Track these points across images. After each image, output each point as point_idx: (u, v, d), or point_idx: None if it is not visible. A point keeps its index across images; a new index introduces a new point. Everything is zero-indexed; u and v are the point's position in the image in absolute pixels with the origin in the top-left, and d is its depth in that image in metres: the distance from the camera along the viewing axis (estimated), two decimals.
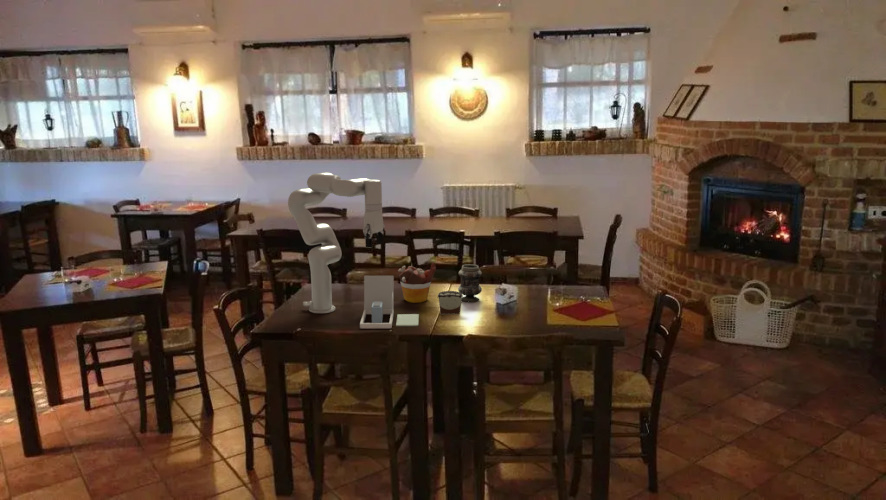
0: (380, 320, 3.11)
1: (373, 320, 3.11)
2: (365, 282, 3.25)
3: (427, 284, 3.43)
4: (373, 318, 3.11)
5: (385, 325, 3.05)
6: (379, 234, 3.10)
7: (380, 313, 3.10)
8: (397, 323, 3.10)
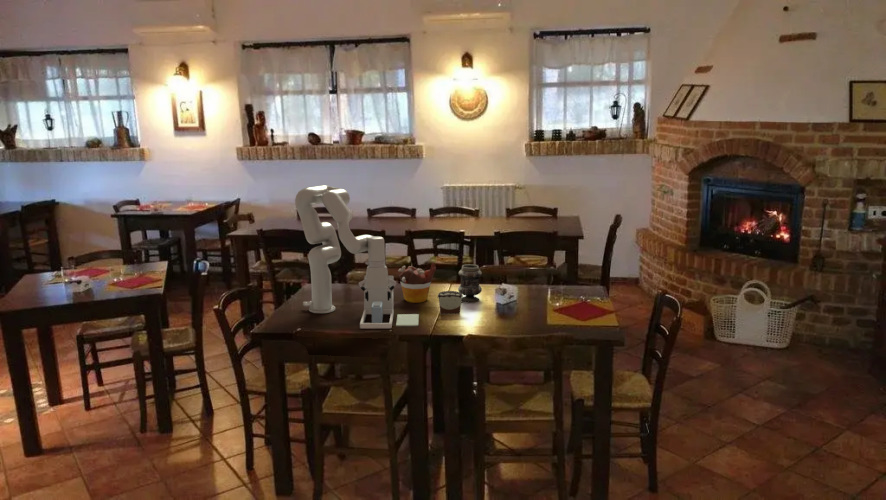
0: (380, 320, 3.11)
1: (373, 320, 3.11)
2: (365, 282, 3.25)
3: (427, 284, 3.43)
4: (373, 318, 3.11)
5: (385, 325, 3.05)
6: (367, 291, 3.12)
7: (380, 313, 3.10)
8: (397, 323, 3.10)
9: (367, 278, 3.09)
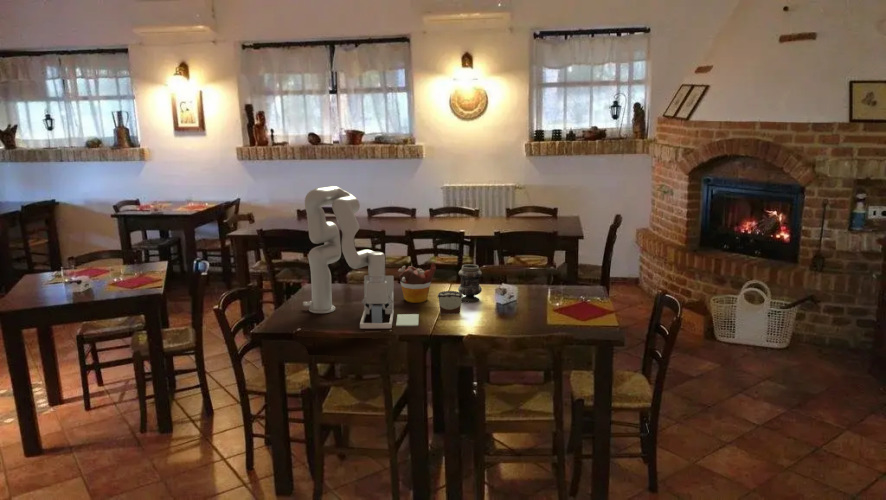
0: (380, 320, 3.11)
1: (373, 320, 3.11)
2: (365, 282, 3.25)
3: (427, 284, 3.43)
4: (373, 318, 3.11)
5: (385, 325, 3.05)
6: None
7: (380, 313, 3.10)
8: (397, 323, 3.10)
9: (367, 293, 3.10)
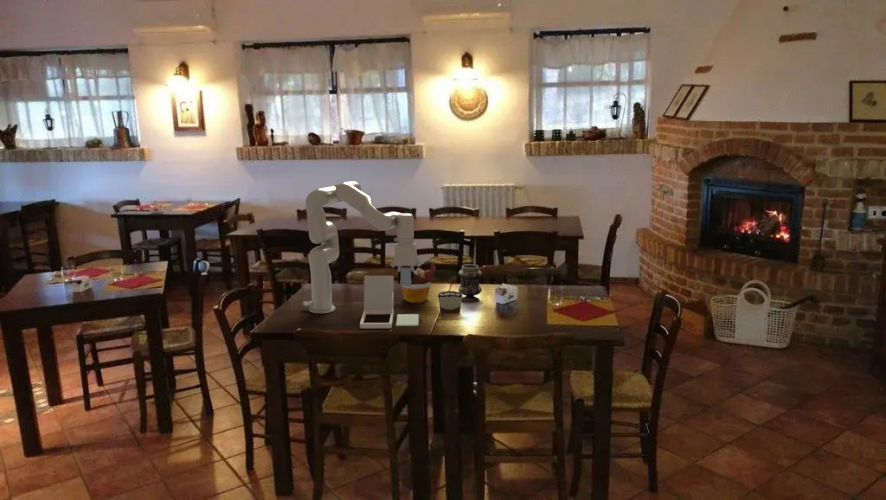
0: (409, 282, 3.07)
1: (402, 282, 3.07)
2: (365, 282, 3.25)
3: (427, 284, 3.43)
4: (402, 280, 3.07)
5: (385, 325, 3.05)
6: (400, 271, 3.11)
7: (409, 275, 3.07)
8: (397, 323, 3.10)
9: (396, 255, 3.07)
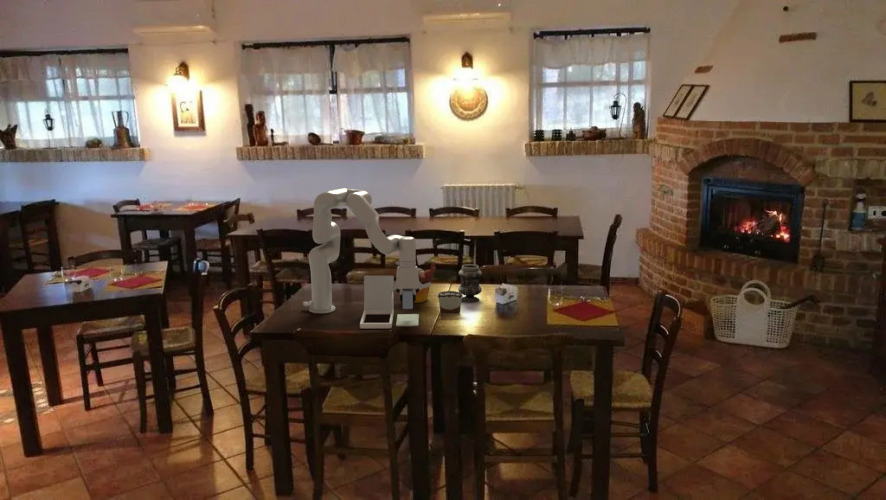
0: (411, 305, 3.10)
1: (404, 305, 3.10)
2: (365, 282, 3.25)
3: (427, 284, 3.43)
4: (404, 303, 3.09)
5: (385, 325, 3.05)
6: (402, 293, 3.13)
7: (411, 298, 3.09)
8: (397, 323, 3.10)
9: (398, 278, 3.09)
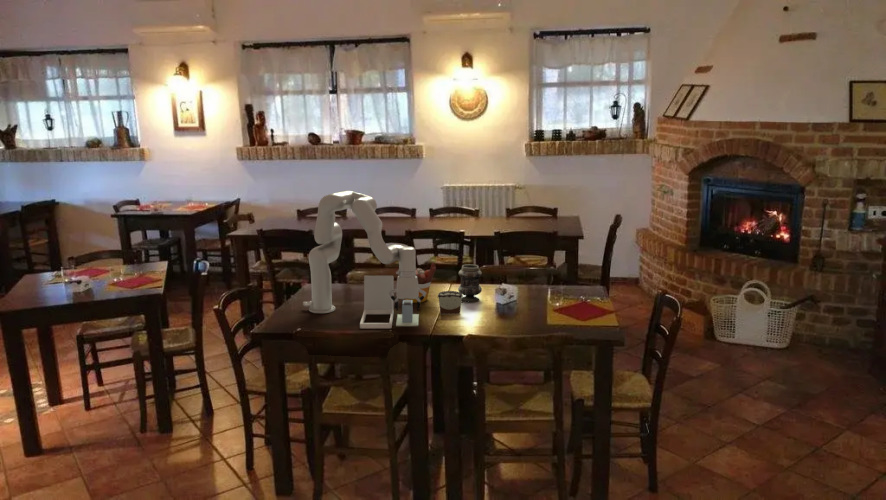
0: (410, 318, 3.11)
1: (403, 318, 3.11)
2: (365, 282, 3.25)
3: (427, 284, 3.43)
4: (403, 316, 3.11)
5: (385, 325, 3.05)
6: (397, 301, 3.14)
7: (411, 311, 3.10)
8: (397, 323, 3.10)
9: (397, 288, 3.10)
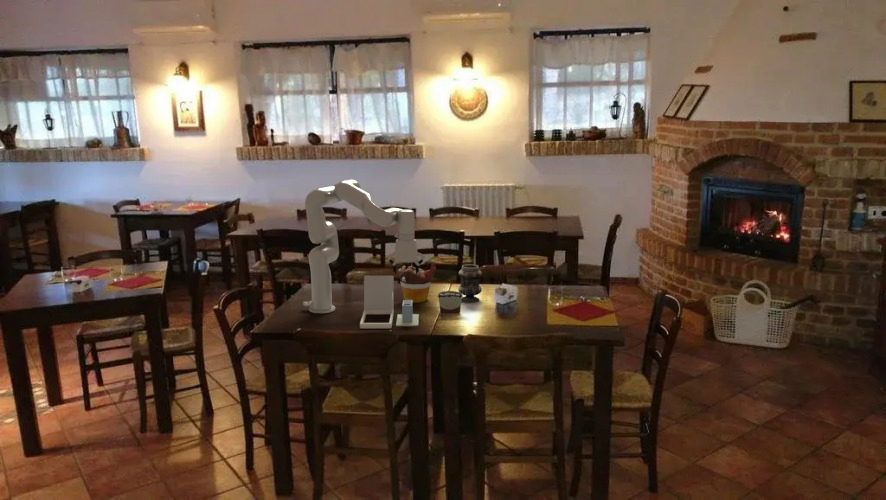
0: (410, 318, 3.11)
1: (403, 318, 3.11)
2: (365, 282, 3.25)
3: (427, 284, 3.43)
4: (403, 316, 3.11)
5: (385, 325, 3.05)
6: None
7: (411, 311, 3.10)
8: (397, 323, 3.10)
9: (396, 251, 3.07)
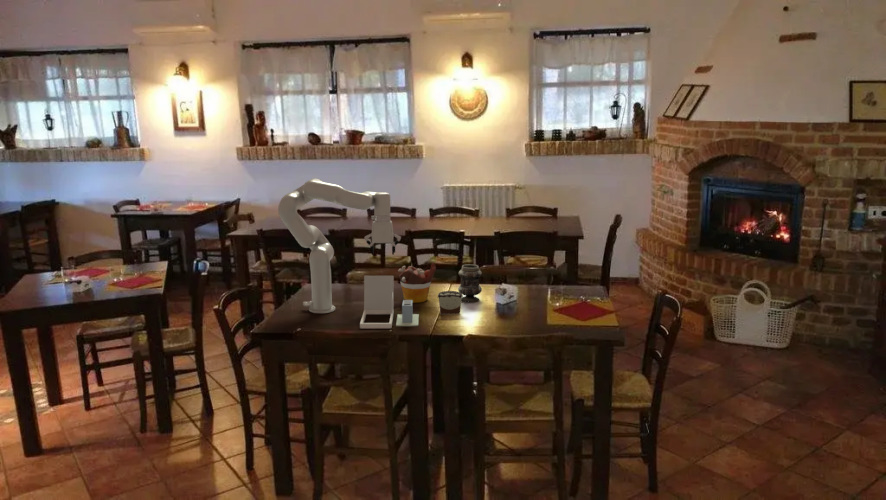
0: (410, 318, 3.11)
1: (403, 318, 3.11)
2: (365, 282, 3.25)
3: (427, 284, 3.43)
4: (403, 316, 3.11)
5: (385, 325, 3.05)
6: None
7: (411, 311, 3.10)
8: (397, 323, 3.10)
9: (373, 232, 3.20)
